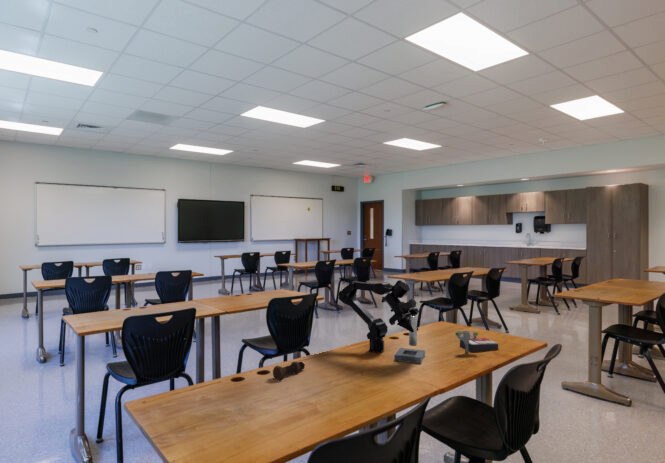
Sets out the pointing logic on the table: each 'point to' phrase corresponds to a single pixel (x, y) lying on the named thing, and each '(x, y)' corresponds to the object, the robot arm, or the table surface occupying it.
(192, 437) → the table surface
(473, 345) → the calculator
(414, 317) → the axle
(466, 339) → the mechanical component
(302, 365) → the dark brown knobby piece
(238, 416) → the table surface
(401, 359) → the block
